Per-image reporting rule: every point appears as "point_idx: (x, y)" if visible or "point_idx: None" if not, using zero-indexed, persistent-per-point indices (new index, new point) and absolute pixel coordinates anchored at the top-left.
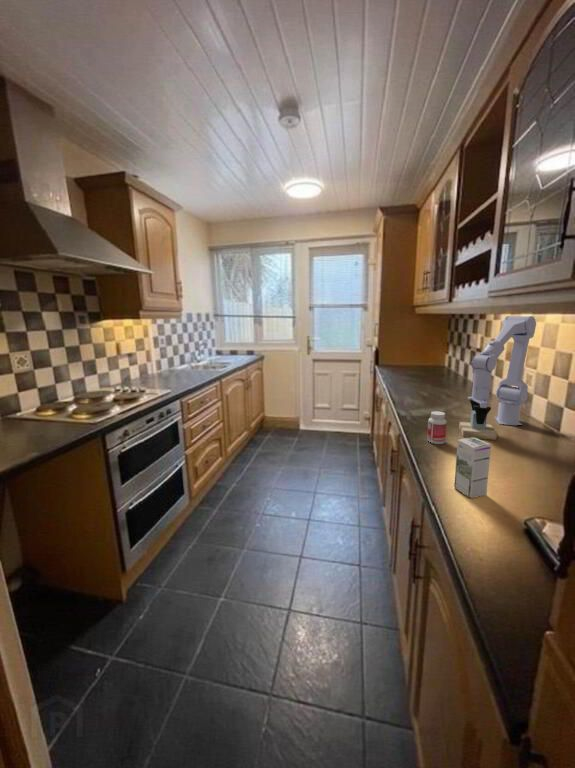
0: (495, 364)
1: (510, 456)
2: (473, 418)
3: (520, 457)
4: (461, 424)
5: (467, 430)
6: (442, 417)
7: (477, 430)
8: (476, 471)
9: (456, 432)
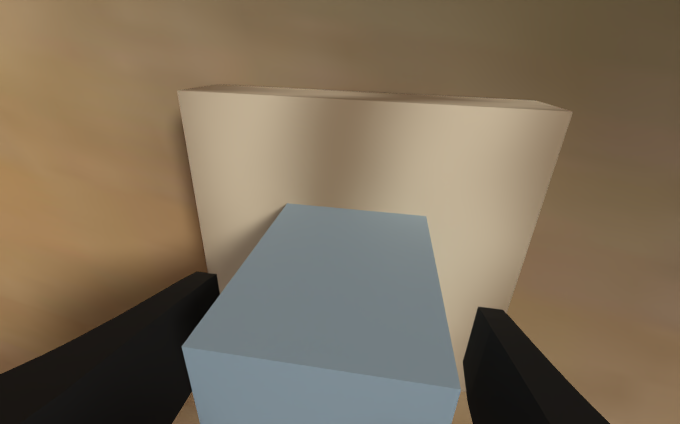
0: None
1: (6, 294)
2: (234, 281)
3: (24, 330)
4: (427, 110)
5: (202, 137)
6: None
7: (242, 237)
8: None
9: (341, 32)
